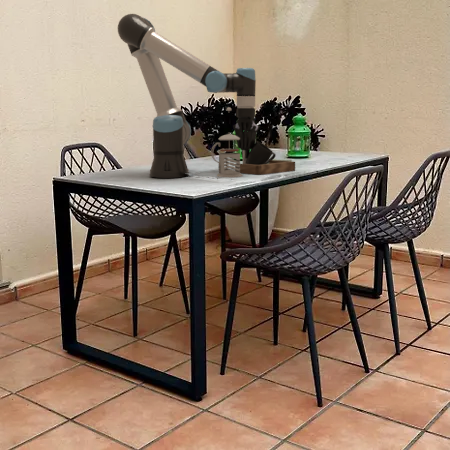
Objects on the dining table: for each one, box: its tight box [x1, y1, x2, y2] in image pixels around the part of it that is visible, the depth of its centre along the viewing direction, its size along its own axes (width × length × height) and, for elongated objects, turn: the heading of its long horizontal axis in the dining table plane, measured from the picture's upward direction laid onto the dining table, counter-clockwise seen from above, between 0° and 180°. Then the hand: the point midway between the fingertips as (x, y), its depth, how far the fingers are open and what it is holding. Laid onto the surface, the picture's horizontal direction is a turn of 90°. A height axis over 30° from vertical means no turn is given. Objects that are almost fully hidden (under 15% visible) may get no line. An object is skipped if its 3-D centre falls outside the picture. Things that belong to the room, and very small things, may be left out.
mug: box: [246, 140, 276, 165], centre depth 259 cm, size 8×12×10 cm
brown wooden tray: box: [234, 159, 296, 176], centre depth 250 cm, size 21×13×4 cm, turn 134°
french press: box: [211, 107, 244, 178], centre depth 235 cm, size 10×12×25 cm
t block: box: [267, 158, 293, 164], centre depth 269 cm, size 8×11×3 cm
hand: (245, 166), depth 260 cm, fingers closed, pressing on mug
